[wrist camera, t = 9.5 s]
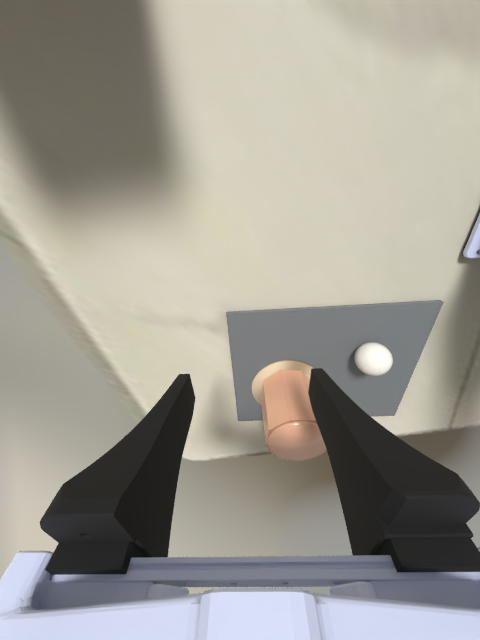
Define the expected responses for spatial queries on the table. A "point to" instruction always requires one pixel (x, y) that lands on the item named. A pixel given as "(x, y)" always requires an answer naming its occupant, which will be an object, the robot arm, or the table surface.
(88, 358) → the table surface
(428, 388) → the table surface
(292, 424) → the cup
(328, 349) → the placemat
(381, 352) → the ball
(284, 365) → the coaster
